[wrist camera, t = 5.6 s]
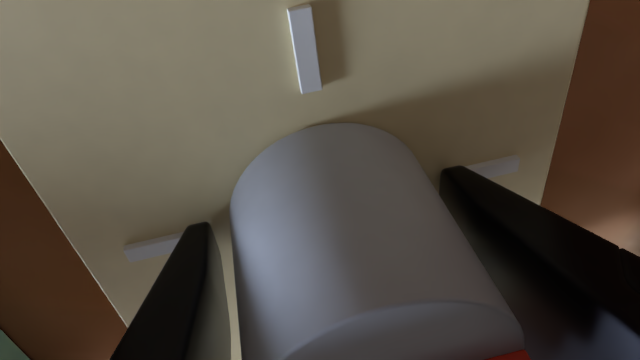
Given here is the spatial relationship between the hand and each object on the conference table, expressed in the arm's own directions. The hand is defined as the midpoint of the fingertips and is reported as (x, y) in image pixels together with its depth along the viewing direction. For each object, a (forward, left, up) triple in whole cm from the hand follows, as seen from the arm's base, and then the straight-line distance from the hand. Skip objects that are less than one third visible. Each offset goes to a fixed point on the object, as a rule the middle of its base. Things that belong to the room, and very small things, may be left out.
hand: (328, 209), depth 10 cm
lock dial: (0, 0, 0) cm, 0 cm away
